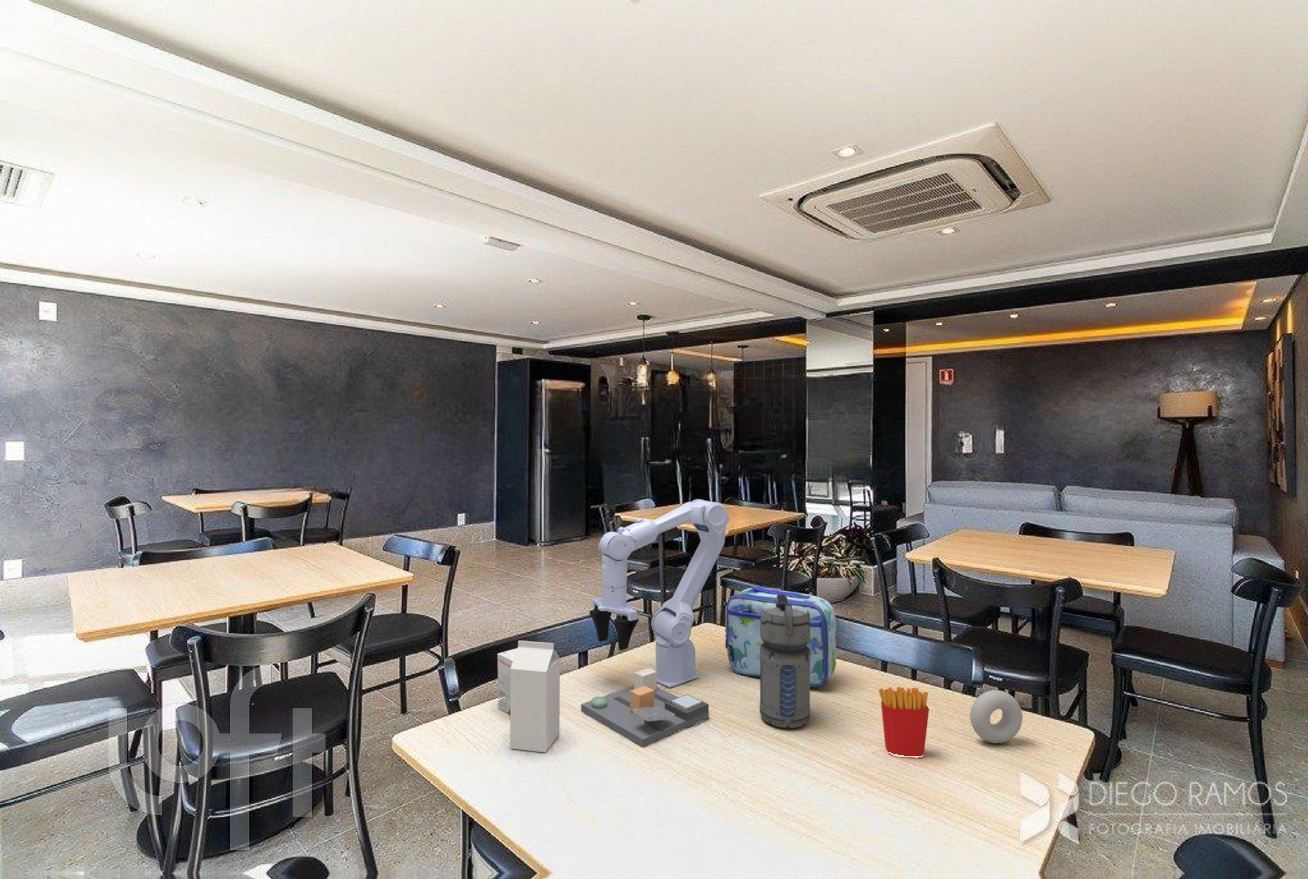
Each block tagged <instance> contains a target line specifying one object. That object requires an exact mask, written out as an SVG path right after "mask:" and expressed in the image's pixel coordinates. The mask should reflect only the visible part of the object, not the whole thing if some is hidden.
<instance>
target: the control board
mask: <svg viewBox="0 0 1308 879" xmlns="http://www.w3.org/2000/svg"><path fill="white" fill-rule="evenodd" d="M631 690H634V685H632V686H629V687H626V688H623V689H620V690H618V691H617V690H616V691H614V692H612V693H609V694H605V695H604V696H600V695H598V696H594V697H593V698H591V699H590V700H589V701H586V702H584V703H581V704H580V712H582V713H584V714H585V715H586V716H589V717H590V718H592V719H594V720H595V721H597V722H598V723H600V724H602V725H604V726H605V727H607V728H609V729H611V730H612V731H614V732H616V733H617V734H619V735H620V736H623V737H624V738H626V739H627V740H629V741H631V742H633V743H634V744H635V745H636V744H637V745H638V746H639V747H641V748H646V747H647V746H650V745H652V744H654V743H657V742H659V741H660V740H663V739H665V737H666V738H667V736H668V737H670V736H672V735H674V733H675V732H677V733H679V732H680V731H679V730H681V731H683V730H682V729H684V730H685V728H686V727H688V728H690V727H692V725H693V726H694V724H695V725H696V723H697V724H699V723H701V722H700V721H702V722H704V721H706V720H708V719H709V718H710V711H709V710H710V709H709V706H710V705H709V703H707V702H705V701H704V700H703V701H702V700H700V699H698V698H696V697H693V696H691V695H689V694H688V693H687V694H684V695H680V696H678V695H675V694H673V693H671V692H668V691H667V690H664V689H662V688H661V687H658V686H657V690H654V707H659V706H660V707H662V708H664V709H666V710H668V711H670V712H672V713H674V714H675V716H674V719H671V720H657V721H646V720H645V719H643V718H641V717H639V716H637V715H635V714H633V712H632V711H630V691H631ZM685 695H688V696H691V697H693V698H695V699H697V700H699V701H702V705H700V706H698V707H695V708H693V709H690V710H688V711H685V710H683V709H681V708H679V707H677V706H675V705H673V704H672V700H675V699H677V698H680V697H682V696H685ZM707 718H708V719H707ZM703 720H704V721H703ZM698 722H699V723H698ZM689 726H690V727H689ZM686 729H687V728H686ZM678 731H679V732H678ZM671 734H672V735H671ZM675 734H676V733H675ZM669 735H670V736H669Z"/></svg>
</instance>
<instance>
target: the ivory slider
mask: <svg viewBox="0 0 1308 879" xmlns="http://www.w3.org/2000/svg"><path fill="white" fill-rule="evenodd" d="M633 676H634V677H633V686H634V689H637V688H640V687H643V686H647V687H649V688H651V689H653V690H657V687H658V686H657V684H658V682H657V672H656V670H654V669H651V668H649V667H646V668H644V669H640V670H637V671H634V672H633Z"/></svg>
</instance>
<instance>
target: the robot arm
mask: <svg viewBox="0 0 1308 879" xmlns="http://www.w3.org/2000/svg"><path fill="white" fill-rule="evenodd" d="M729 521H730V517H729V514H728V511H727V508H726V507H725V505H724V504H722V503H720V502H717V501H709V500H704V499H700V498H698V499H696V498H695V499H694V500H692V501H687V502H685V503H684V504H683V505H681V506H678V507H677V508H675V509H673V510H671V511H669V512H668V513H665V514H663V515H660V516H659V517H657V518H656V519H654V520H650V519H648V518H644V519H643V518H640V517H639V518H637V519H635V522H634V523H632V524H630V525H627V526H625V527H623V526H620V527H618V529H617V530H618V531H609V532H606V533H604V534H603V536H602V537H601V538H600V541H599V543H598V546H597V548H598V550H599V552H600V553H601V555H602V557H601V558H602V560H601V564H602V565H601V594H600V595H601V597H593V598H591V608H593V609H591V610H589V615H590V617H591V620H592V621H593V624H594V627H595V631H596V635H597V640H598V642H600V643H601V642H603V641H607V640H608V639H609V628H610V622H611V617H612V614H614V615H617V616H620V617H619V618H615V619H613V622H614V625H615V627H616V628H615V629H616V632H617V634H616V635H617V648H618V650H619V651H624V650H627V649H629V646H630V641H631V637H632V635H633V632H634V630H635V627H636V626H637V625H638V623H639V618H638V610H636V609H634V608H632V607H631V606H630V605H629V604H628V603H627V589H628V588H627V587H628V586H627V582H628V581H627V580H628V579H627V578H628V558H629V557H630V555H631V554H632V552H634V551H637V550H638V549H640V548H643V547H645V546H647V545H649V544H651V543H653V542H655V541H656V540H657V537H658V535H659V534H662V533H664V532H667V531H669V530H671V529H674V528H676V527H680V526H681V525H684V524H687V523H689V524H692V526H693V527H694V528H695V530H696V532H697V533H698V536H699V539H700V542H699V544H698V546H697V548H696V550H695V551H694V554H693V556H692V558H691V560H690V562H689V564H688V566H687V568H686V570H685V572H684V573H683V575H682V578H681V580H680V581H679V583H678V586H677V588H676V589H675V591H674V593H673V595H672V597H671V598H670V599H668V600H666V601H664V603H663V604H662V605H661V607H660V609H659V610H658V611H656V612H655V613H654V614H653V616H652V617H651V623H650V625H651V629H652V631H653V632H654V633H655V671H656V672H657V684H658V683H659V684H661V685H663V686H665V687H667V688H670V689H671V688H674V687H676V686H680V685H682V684H684V683H686V682H690V681H691V680H692V681H693V680H695V679H697V678H698V677H699V676H698V675H697V674H696V647H695V645H694V643H693V642H692V640H691V639H690V637H691V634H692V626H693V623H694V622H695V616H694V612H693V609H694V606H695V604H696V602H697V599H698V598H699V595H700V594H701V592H702V590H703V587H704V586H705V584H706V581H707V580H708V577H709V576H710V574H711V572H712V569H713V568H714V565H715V564H716V562H717V559H718V557H719V556H720V554H721V551H722V549H723V548H724V545H725V541H726V540H725V539H726V531H727V530H726V529H727V525H728V524H729Z"/></svg>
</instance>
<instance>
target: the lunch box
mask: <svg viewBox="0 0 1308 879" xmlns="http://www.w3.org/2000/svg"><path fill="white" fill-rule="evenodd" d="M779 594H784V595H785V596H786V597H787V599H788V603H789V604H792V609H796V610H799V611H801V612H804V613H807V611H809V613H810V641H809V642H808V644H807V645H806V646H807V647H808V648H809V649H810V688H822V687H824V686H825V685H826V684H827V682H828V680H829V678H830V677H832V676H833V675H834V673H835V671H836V667H837V645H836V644H837V641H836V640H837V638H836V637H837V635H836V633H837V627H836V626H837V625H836V624H837V622H836V620H837V619H836V613H835V609H834V607H833V605H832V604H831V603H830V602H829V601H828V600H826V599H824V598H822V597H819V596H816V595H812V594H807V593H802V592H796V591H794V592H793V591H787V590H779V589H771V588H770V589H769V588H764V587H762V586H760V585H756V586H755V587H750V588H745V589H743V590H741V591H740V592H739V593H736V594H733V595H731V596H730V597H728V599H727V602H726V627H725V629H724V633H725V640H724V641H725V643H724V644H725V646H724V647H725V649H726V650H727V651H726V652H727V658H728V661H729V665H730V666H731V669H732V670H733V671H734V673H736V674H737V673H739V674H738V675H740V674H743V675H742V676H751V677H755V678H760V646H761V644H763V643H764V641H763V640H762V638H761V637H760V619H761V611H762V609H764V611H766V610H769V609H772V608H776V604H775V600H776V598H777V595H779Z"/></svg>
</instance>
